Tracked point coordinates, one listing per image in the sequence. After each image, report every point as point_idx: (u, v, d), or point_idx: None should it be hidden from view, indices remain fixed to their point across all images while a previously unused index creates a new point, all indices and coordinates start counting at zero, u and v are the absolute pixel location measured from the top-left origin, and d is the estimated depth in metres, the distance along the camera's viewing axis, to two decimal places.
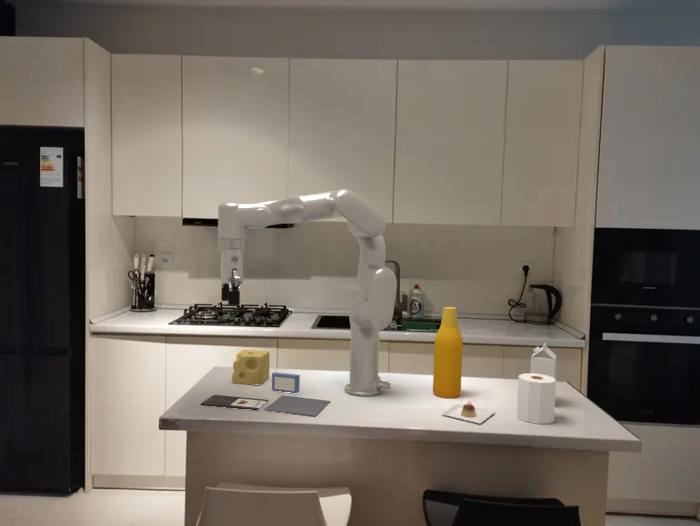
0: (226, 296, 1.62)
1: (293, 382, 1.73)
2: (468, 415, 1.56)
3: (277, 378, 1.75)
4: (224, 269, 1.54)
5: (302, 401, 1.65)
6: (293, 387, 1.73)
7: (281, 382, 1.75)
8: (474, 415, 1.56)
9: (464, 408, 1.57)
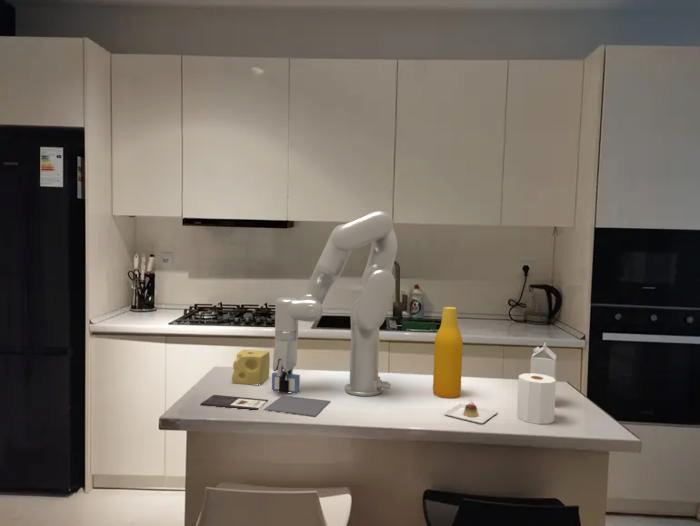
0: None
1: (293, 382, 1.73)
2: (470, 415, 1.56)
3: (277, 378, 1.75)
4: (295, 355, 1.76)
5: (302, 401, 1.65)
6: (293, 387, 1.73)
7: None
8: (476, 415, 1.56)
9: (466, 408, 1.57)
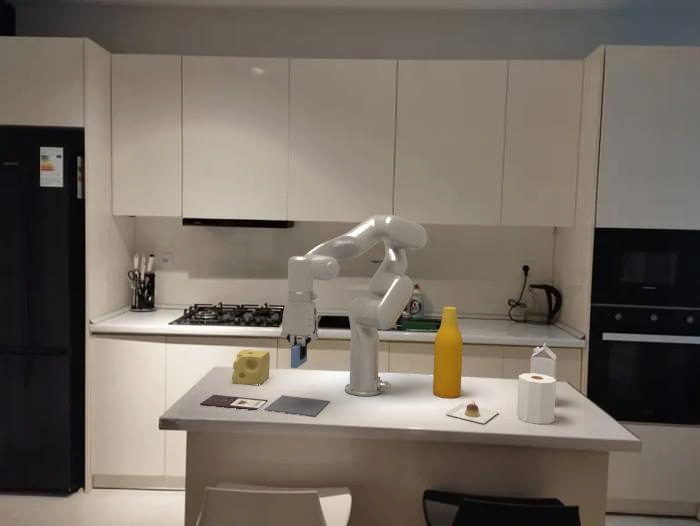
0: None
1: None
2: (472, 415, 1.56)
3: None
4: (304, 322, 1.57)
5: (302, 401, 1.65)
6: None
7: None
8: (478, 415, 1.57)
9: (468, 408, 1.57)
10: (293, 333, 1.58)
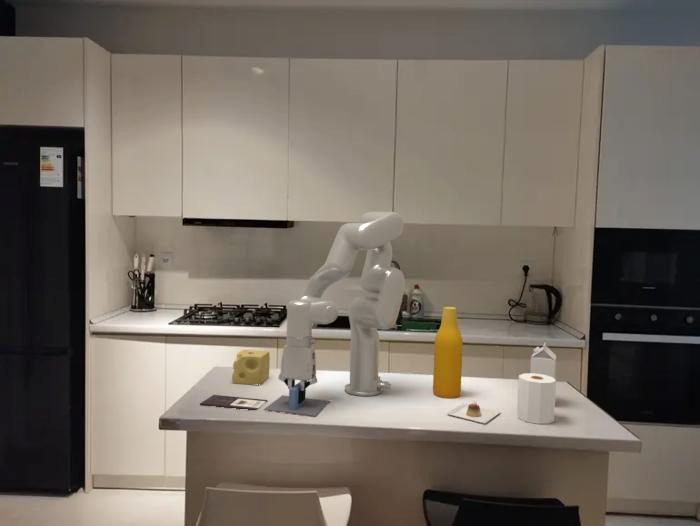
0: None
1: None
2: (473, 415, 1.56)
3: None
4: (303, 367, 1.57)
5: None
6: None
7: None
8: (479, 415, 1.57)
9: (469, 408, 1.57)
10: (291, 377, 1.59)
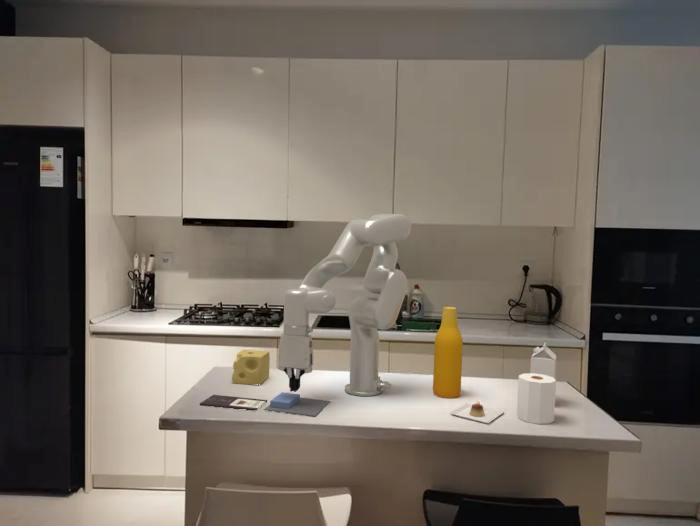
0: None
1: None
2: (476, 415, 1.56)
3: None
4: (300, 355, 1.58)
5: (302, 401, 1.65)
6: None
7: None
8: (482, 415, 1.57)
9: (472, 408, 1.58)
10: (289, 366, 1.59)
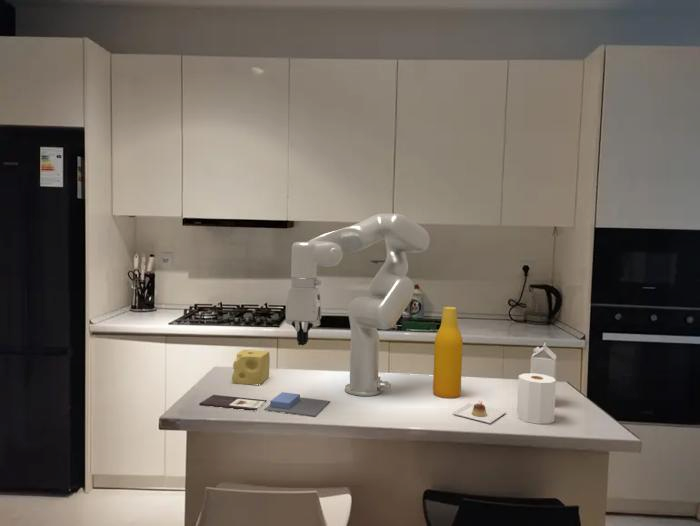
0: None
1: None
2: (478, 415, 1.56)
3: None
4: (308, 308, 1.56)
5: (302, 401, 1.65)
6: None
7: None
8: (485, 415, 1.57)
9: (475, 408, 1.58)
10: (297, 319, 1.58)
